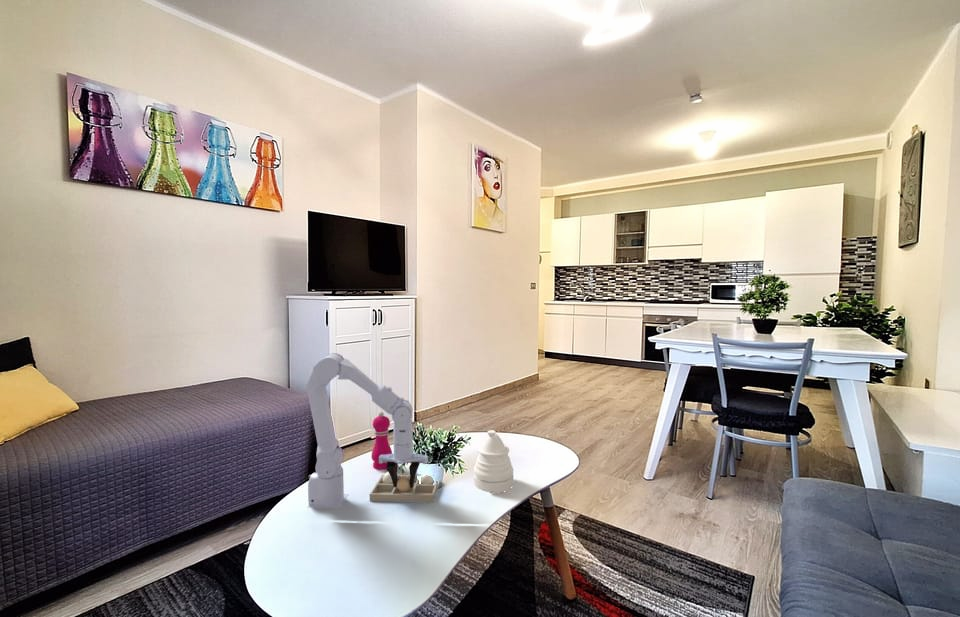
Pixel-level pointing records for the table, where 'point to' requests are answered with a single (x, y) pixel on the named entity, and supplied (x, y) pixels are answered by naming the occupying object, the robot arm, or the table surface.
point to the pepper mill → (380, 440)
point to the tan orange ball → (403, 483)
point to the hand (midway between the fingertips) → (403, 486)
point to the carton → (411, 495)
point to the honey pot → (493, 466)
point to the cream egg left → (387, 478)
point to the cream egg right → (427, 480)
